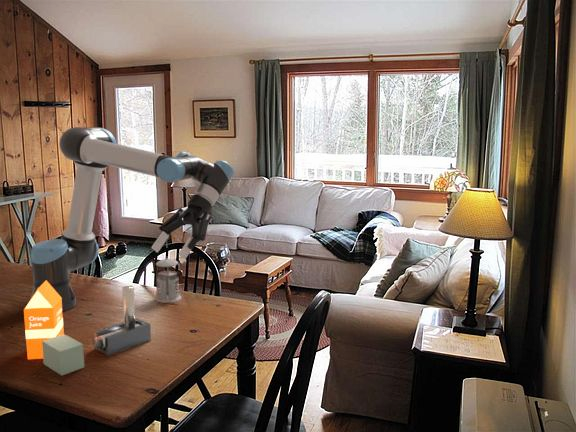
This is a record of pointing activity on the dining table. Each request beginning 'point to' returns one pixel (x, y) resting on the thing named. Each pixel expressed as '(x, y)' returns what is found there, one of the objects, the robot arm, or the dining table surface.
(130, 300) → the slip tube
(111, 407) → the dining table surface
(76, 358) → the grey-green block
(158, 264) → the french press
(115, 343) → the gray open box
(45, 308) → the orange juice
